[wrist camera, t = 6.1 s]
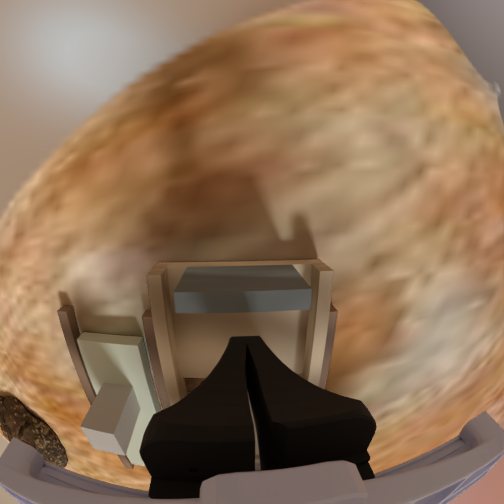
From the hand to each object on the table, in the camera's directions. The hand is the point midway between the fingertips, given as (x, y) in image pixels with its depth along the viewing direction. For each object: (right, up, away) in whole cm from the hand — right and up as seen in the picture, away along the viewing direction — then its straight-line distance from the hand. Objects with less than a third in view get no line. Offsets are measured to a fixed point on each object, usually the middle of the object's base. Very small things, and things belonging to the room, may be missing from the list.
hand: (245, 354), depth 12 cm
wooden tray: (0, -4, +7) cm, 8 cm away
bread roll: (-29, -19, +8) cm, 35 cm away
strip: (-10, -9, +7) cm, 15 cm away
